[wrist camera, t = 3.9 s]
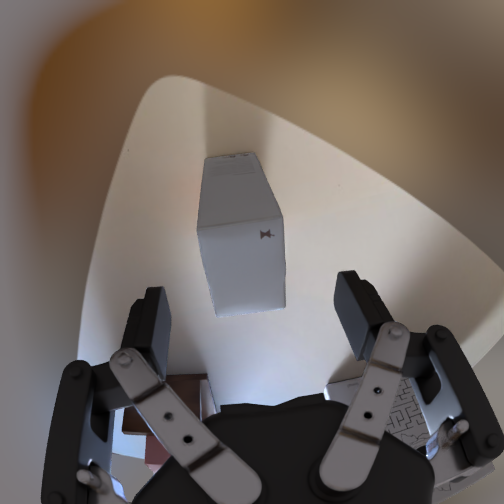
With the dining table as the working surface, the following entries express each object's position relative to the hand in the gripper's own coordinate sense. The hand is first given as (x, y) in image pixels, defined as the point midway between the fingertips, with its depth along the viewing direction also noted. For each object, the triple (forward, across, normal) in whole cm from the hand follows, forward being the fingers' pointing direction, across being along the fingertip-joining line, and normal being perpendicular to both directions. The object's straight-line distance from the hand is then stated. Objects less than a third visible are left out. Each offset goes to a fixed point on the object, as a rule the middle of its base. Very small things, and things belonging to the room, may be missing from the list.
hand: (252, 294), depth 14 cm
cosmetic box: (+14, 0, 0) cm, 14 cm away
